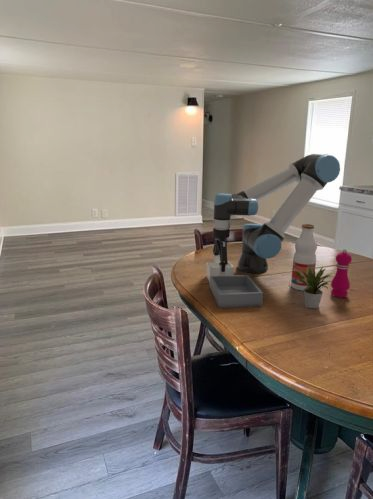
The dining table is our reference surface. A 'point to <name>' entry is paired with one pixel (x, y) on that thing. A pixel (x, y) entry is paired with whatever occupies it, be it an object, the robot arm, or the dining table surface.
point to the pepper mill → (341, 275)
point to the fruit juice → (303, 257)
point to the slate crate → (235, 291)
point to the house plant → (314, 287)
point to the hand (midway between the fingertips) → (219, 273)
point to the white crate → (214, 269)
